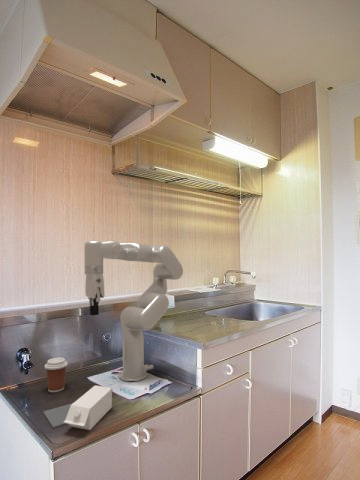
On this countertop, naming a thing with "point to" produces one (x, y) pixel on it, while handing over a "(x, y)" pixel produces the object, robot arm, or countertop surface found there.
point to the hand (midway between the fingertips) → (94, 314)
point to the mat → (57, 415)
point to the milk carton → (90, 408)
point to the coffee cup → (56, 374)
